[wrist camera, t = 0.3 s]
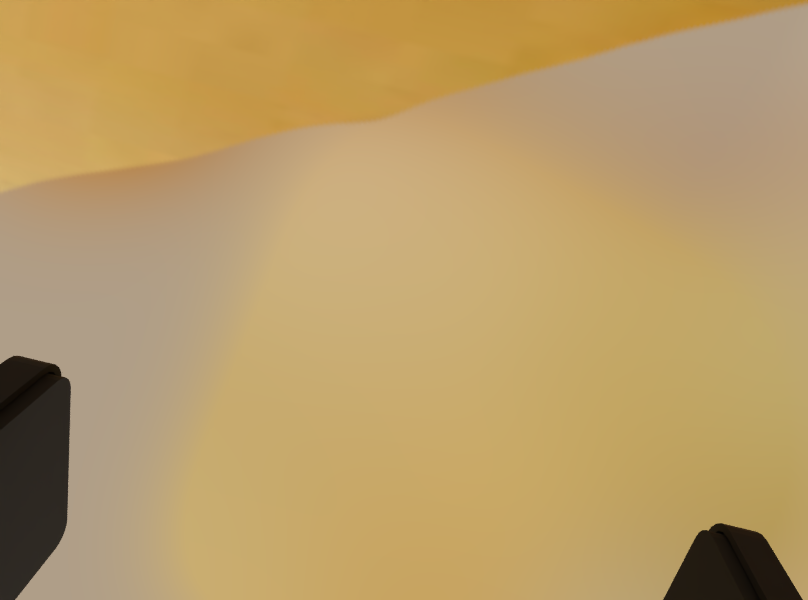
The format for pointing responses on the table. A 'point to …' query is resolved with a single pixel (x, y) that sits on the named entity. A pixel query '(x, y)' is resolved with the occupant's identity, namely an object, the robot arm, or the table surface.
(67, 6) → the table surface
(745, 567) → the robot arm
